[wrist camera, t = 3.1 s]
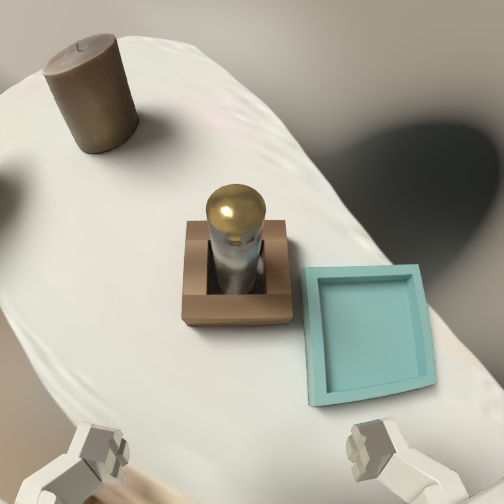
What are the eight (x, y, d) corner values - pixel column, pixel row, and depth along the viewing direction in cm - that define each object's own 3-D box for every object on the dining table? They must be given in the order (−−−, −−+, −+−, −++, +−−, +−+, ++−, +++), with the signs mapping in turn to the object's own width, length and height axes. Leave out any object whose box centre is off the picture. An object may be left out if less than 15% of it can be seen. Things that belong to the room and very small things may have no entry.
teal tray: (422, 385, 24) (436, 383, 22) (308, 404, 24) (315, 406, 22) (406, 273, 30) (418, 264, 27) (299, 277, 29) (304, 267, 27)
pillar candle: (152, 117, 38) (131, 25, 24) (103, 163, 34) (61, 68, 21) (110, 103, 40) (85, 24, 26) (65, 143, 36) (26, 64, 22)
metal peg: (255, 296, 28) (267, 234, 17) (217, 296, 28) (204, 234, 17) (254, 261, 29) (264, 184, 19) (218, 261, 29) (207, 184, 18)
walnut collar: (287, 324, 27) (293, 317, 24) (187, 325, 26) (181, 318, 24) (281, 235, 31) (285, 220, 28) (191, 236, 30) (187, 221, 28)
